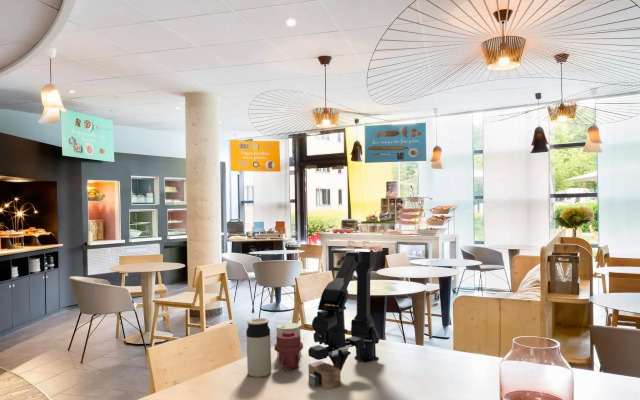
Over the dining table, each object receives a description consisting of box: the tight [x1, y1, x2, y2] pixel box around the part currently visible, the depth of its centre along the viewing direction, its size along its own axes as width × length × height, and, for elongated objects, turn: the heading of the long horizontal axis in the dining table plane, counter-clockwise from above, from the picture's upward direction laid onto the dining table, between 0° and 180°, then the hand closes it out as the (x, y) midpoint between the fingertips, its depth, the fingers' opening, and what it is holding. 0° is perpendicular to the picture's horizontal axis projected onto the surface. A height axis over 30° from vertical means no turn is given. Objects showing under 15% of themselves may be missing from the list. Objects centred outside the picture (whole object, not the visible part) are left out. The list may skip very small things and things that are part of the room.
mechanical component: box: [273, 331, 304, 372], centre depth 173 cm, size 12×10×10 cm
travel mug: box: [245, 317, 272, 378], centre depth 168 cm, size 8×8×18 cm
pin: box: [308, 362, 339, 388], centre depth 158 cm, size 8×6×5 cm
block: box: [307, 360, 342, 390], centre depth 158 cm, size 5×11×5 cm, turn 32°
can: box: [275, 322, 302, 360], centre depth 185 cm, size 9×9×12 cm
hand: (338, 373), depth 160 cm, fingers closed
